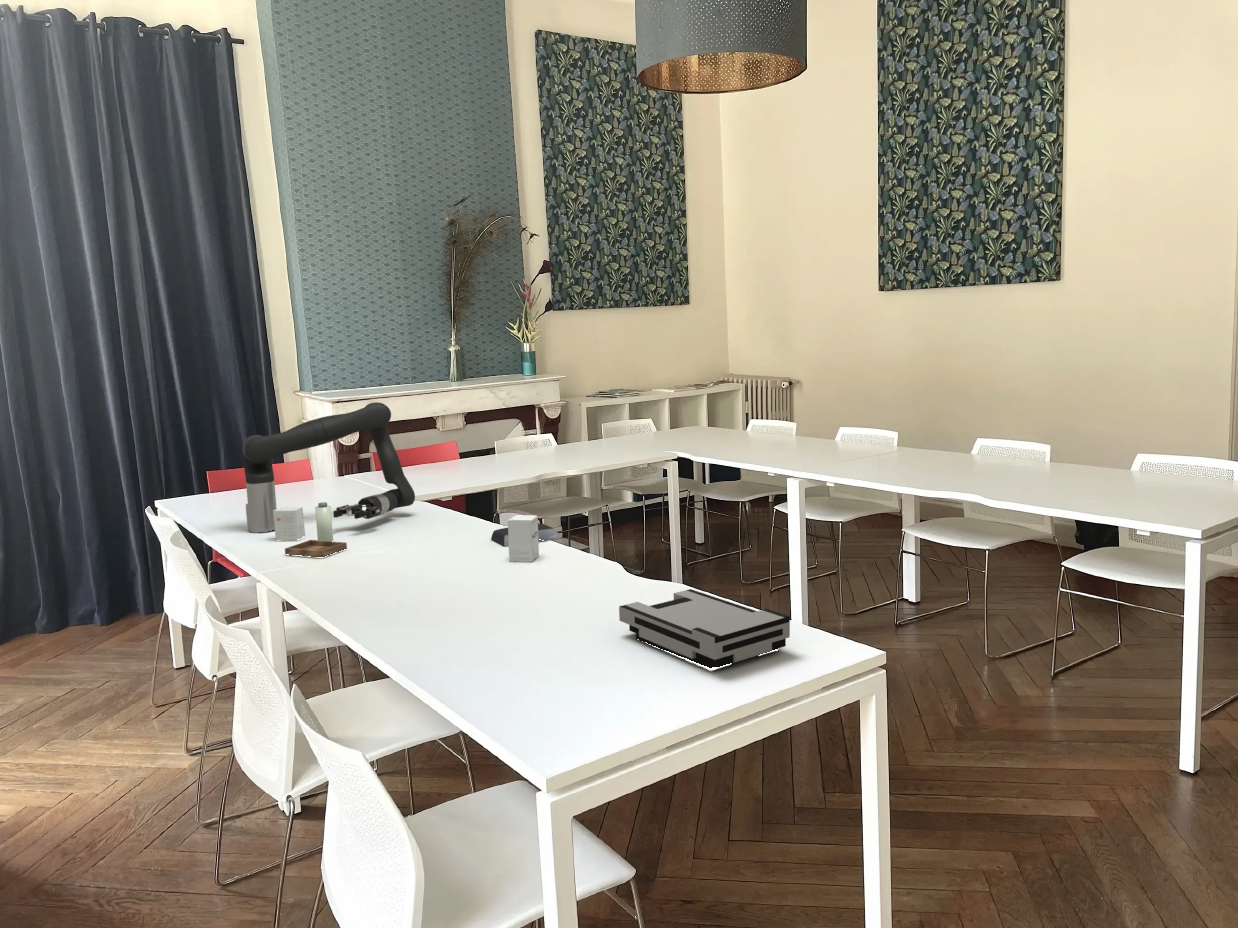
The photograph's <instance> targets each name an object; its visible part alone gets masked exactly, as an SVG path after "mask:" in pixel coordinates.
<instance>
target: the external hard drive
mask: <svg viewBox="0 0 1238 928" xmlns="http://www.w3.org/2000/svg"><path fill="white" fill-rule="evenodd" d="M539 539H541V540H539ZM490 540H491V542H494V543H496V544H498V545H500V546H502V547H504V548H505V547H508V548H509V539H508V526H507V527H503V528H499V529H496V530H493V531H492V534H491V538H490ZM542 540H544V541H542ZM554 540H555V541H556V540H560V536H559V533H558V531H557V529H556V528H554V527H553V526H552V527H551V526H549V525H546V524H544V523H538V542H539V543H542V542H549V541H550V542H551V541H554ZM540 541H541V542H540Z"/></svg>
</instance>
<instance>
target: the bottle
mask: <svg viewBox="0 0 1238 928" xmlns="http://www.w3.org/2000/svg"><path fill="white" fill-rule="evenodd" d="M314 509H315V522H316V534H317V535H316V537H317V540H319V541H333V542H334V535H333V534H334V533H333V520H332V518H333V517H332V508H331V505H328V502H318V504H317V505H316V506H315V507H314Z"/></svg>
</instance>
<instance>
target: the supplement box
mask: <svg viewBox="0 0 1238 928" xmlns="http://www.w3.org/2000/svg"><path fill="white" fill-rule="evenodd" d="M538 524H539V519H538V515H525V514H524V515H517V514H516V515H514V516H512V517H510V519H508V520H507V527H508V539H509V546H508V561H509V562H514V563H515V562H517V563H518V562H521V563H532V562H533V561H535V560H536V558H538V557H540V550H539V549H540V547H539V546H540V545H539V543H540V542H538Z"/></svg>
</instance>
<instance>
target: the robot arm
mask: <svg viewBox="0 0 1238 928" xmlns="http://www.w3.org/2000/svg"><path fill="white" fill-rule="evenodd" d="M391 418H392V412H391V410H390V408H389V406H387V405H386V404H385V403H383V402H378V401H377V402H376V401H374V402H369V403H367V404H366V405H365V407H362V408H360V409H357V410H355V411H351V412H348V413H347V412H346V413H340V414H332V415H327V416H321V417H318V418H315V419H312V420H308V421H305V422H302V423H300V424H298V425H296V426H294V427H292V428H290V429H288V430H285V431H283V432H279V433H274V434H270V435H260V434H254V435H253V434H252V435H250V436H248V437H247V438H246V439H245V440H244V442H243V444H242V460H243V461H242V462H243V470H244V477H245V486H246V488H245V489H246V497H247V499H246V500H247V503H246V504H245V512H246V526H247V531H248V532H251V533H253V534H254V533H255V534H258V533H259V532H263V533H269V532H268V531H271V532H273V531H272V530H275V526H274V515H273V511H274V510H276V509H278V508H277V498H276V497H277V496H276V485H275V473H274V468H273V459H275V458H278V457H280V456H282V455H283V456H284V455H285V454H288V453H293V452H297V451H301V450H306V449H311V448H314V447H318V446H321V445H322V446H323V445H325V444H330V443H331V442H334V441H336V440H337V441H338V440H340V439H343V438H345V437H347V436H349V435H352V434H355V433H358V432H363V431H368V432H369V434H370V436H371V439H372V441H373V444H374V447H375V450H376V454H377V455H378V456H377V457H378V460H379V465H380V466H381V467H380V468H381V470H382V474H383V478H384V480H385V483H387V484H389V485H390V484H391V485H394V486H395V487H396V488H392V489H389V490H387V491H384V492H382V493H379V494H378V493H377V494H372V495H369V496H366V497H363V498H361V499H359V501H358V502H357V503H355V504H353V505H349V504H346V505H342V506H338V507H336V508H335V509H336V510H334V511H333V515H332V516H333V518H339V517H343V516H347V517H354V519H355V520H358V519H361V518H363V519H366V520H370V519H373V518H376V517H379V516H381V515H384V514H385V513H388V512H391V511H393V510H395V509H397V508H404V507H409V506H412V505H413V504H414V503H415V501H416V500H415V499H416V494H415V491H414V489H413V487H412V485H411V484H410V482H409V481H408V479H407V477H406V475H405V474H404V471H403V467H402V464H401V463H402V462H401V460H400V458H399V455H398V453H397V451H396V448H395V446H394V444H393V441H392V438H391V436H390V432H389V427H388V423H389V422H390V421H391ZM350 512H351V513H350ZM259 534H260V533H259Z"/></svg>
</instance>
